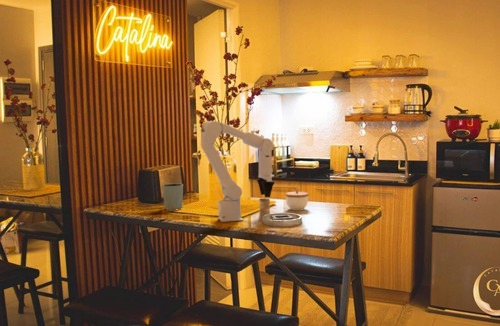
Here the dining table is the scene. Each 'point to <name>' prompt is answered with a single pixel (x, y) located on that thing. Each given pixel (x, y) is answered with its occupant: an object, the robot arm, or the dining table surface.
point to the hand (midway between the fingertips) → (265, 195)
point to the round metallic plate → (282, 219)
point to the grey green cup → (173, 196)
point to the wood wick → (264, 206)
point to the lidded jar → (297, 200)
